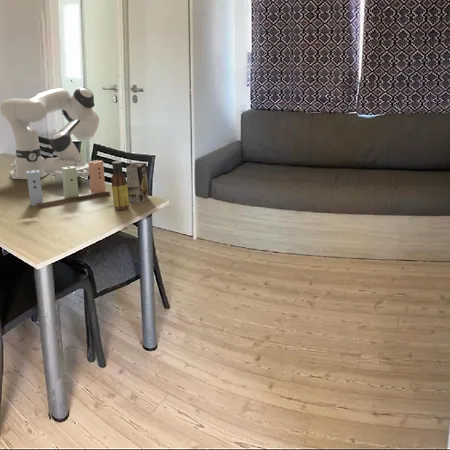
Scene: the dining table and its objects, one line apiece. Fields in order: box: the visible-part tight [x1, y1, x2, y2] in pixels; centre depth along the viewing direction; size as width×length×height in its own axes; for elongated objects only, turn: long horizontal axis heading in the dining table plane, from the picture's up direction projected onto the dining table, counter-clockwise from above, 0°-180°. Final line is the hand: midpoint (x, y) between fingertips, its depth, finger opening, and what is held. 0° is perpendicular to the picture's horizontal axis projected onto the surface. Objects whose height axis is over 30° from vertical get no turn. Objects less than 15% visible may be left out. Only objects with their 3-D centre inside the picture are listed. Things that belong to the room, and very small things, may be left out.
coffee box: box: [125, 162, 149, 205], centre depth 238 cm, size 9×6×16 cm
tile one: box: [61, 166, 80, 199], centre depth 237 cm, size 4×5×14 cm
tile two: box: [26, 170, 44, 207], centre depth 230 cm, size 4×5×14 cm
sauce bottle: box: [110, 160, 130, 211], centre depth 227 cm, size 6×6×20 cm
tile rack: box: [36, 190, 111, 209], centre depth 241 cm, size 14×35×3 cm, turn 126°
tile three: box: [87, 159, 106, 194], centre depth 247 cm, size 4×5×14 cm
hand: (85, 174), depth 253 cm, fingers closed
